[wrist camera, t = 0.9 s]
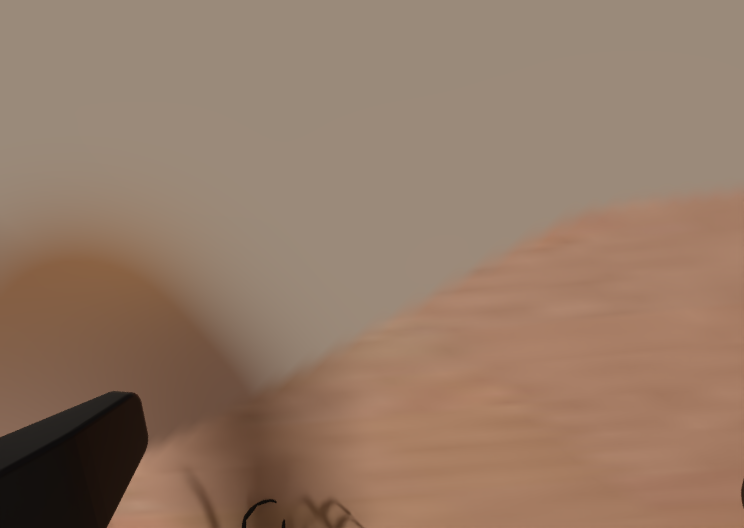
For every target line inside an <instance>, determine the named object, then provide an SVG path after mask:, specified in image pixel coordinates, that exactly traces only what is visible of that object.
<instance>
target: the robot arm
mask: <svg viewBox="0 0 744 528" xmlns="http://www.w3.org/2000/svg"><path fill="white" fill-rule="evenodd" d="M147 444H148V432H147V427H146V422H145V418H144V412H143V408H142V403H141V399H140V398H139V396H138V395H137V394H135V393H132V392H119V391H112V392H108V393H106V394H104V395H101V396H99V397H96V398H94V399H92V400H89V401H87V402H84V403H82V404H80V405H77V406H75V407H73V408H70V409H67V410H65V411H63V412H60V413H58V414H56V415H53V416H51V417H48V418H46V419H43V420H41V421H39V422H36V423H34V424H31V425H29V426H27V427H24V428H22V429H20V430H17V431H15V432H12V433H10V434H7V435H5V436H2V437H0V528H107V526H108V524H109V522H110V520H111V518H112V516H113V515H114V513H115V511H116V509H117V507H118V505H119V503H120V501H121V499H122V497H123V495H124V493H125V491H126V489H127V487H128V485H129V483H130V481H131V479H132V477H133V475H134V473H135V471H136V469H137V467H138V465H139V463H140V461H141V459H142V457H143V455H144V453H145V451H146V448H147ZM741 498H742V504H743V508H744V480H743V484H742V489H741Z"/></svg>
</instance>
